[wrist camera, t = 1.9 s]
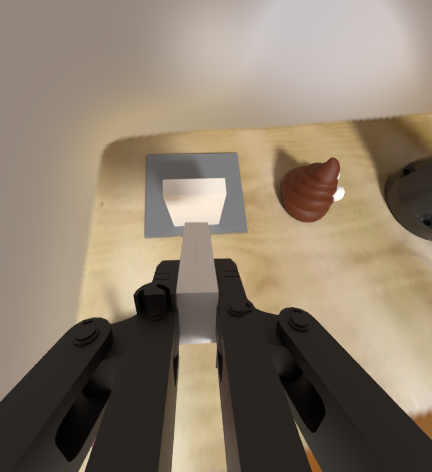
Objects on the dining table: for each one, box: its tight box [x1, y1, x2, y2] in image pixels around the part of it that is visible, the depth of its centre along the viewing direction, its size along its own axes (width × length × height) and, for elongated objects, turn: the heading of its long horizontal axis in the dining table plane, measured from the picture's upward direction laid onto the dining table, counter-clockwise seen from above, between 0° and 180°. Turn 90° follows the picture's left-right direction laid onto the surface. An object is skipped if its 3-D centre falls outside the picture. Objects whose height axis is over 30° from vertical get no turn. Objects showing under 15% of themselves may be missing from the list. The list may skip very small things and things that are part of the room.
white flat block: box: [163, 178, 226, 226], centre depth 27 cm, size 7×2×10 cm, turn 95°
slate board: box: [145, 153, 247, 238], centre depth 33 cm, size 16×15×1 cm
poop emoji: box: [281, 157, 345, 222], centre depth 31 cm, size 10×8×9 cm
